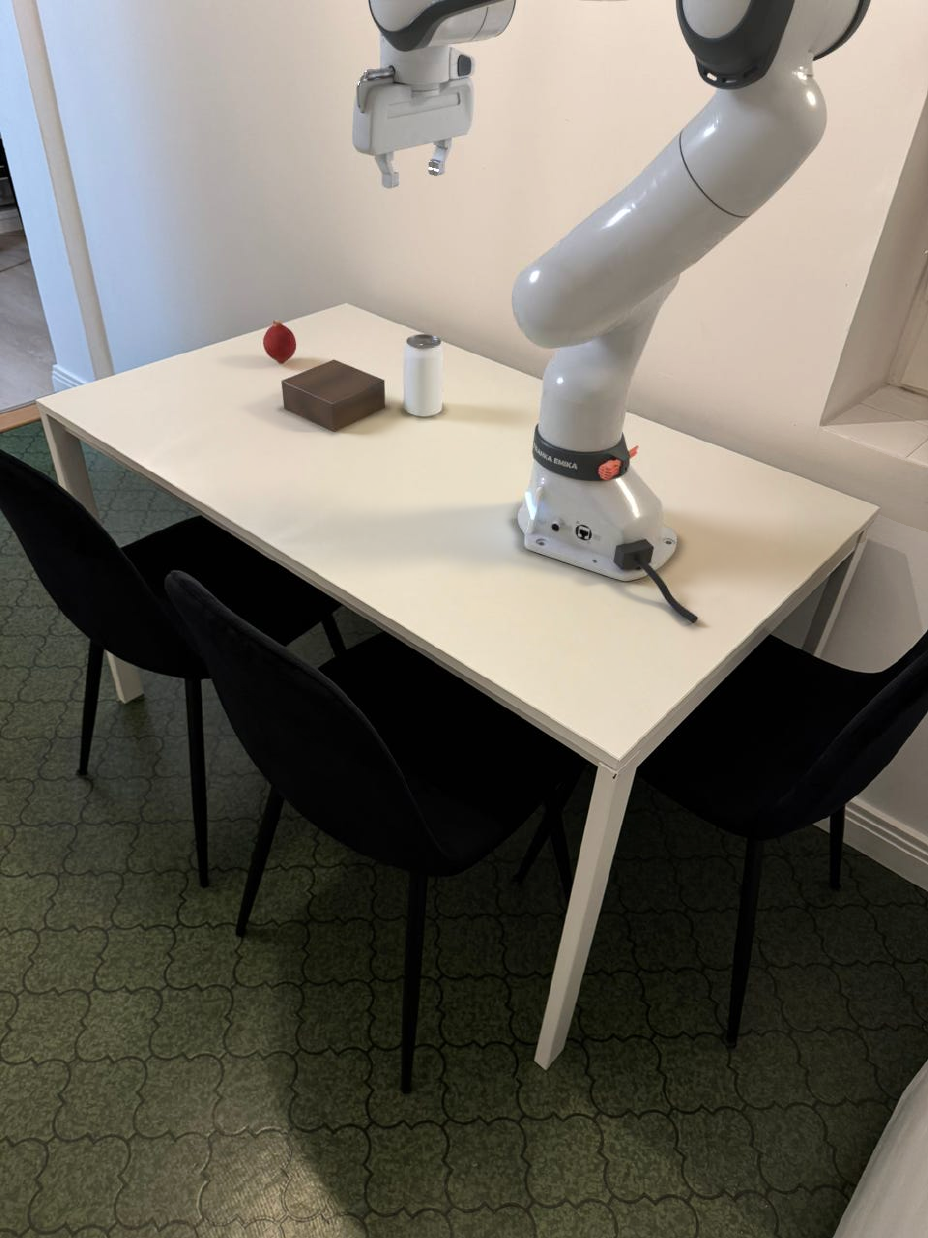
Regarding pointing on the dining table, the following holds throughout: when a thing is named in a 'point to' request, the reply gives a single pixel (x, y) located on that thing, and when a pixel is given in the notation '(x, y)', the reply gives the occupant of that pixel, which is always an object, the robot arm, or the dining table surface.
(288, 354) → the onion
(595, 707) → the dining table surface
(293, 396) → the brown square block
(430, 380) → the can
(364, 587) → the dining table surface
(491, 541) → the dining table surface
